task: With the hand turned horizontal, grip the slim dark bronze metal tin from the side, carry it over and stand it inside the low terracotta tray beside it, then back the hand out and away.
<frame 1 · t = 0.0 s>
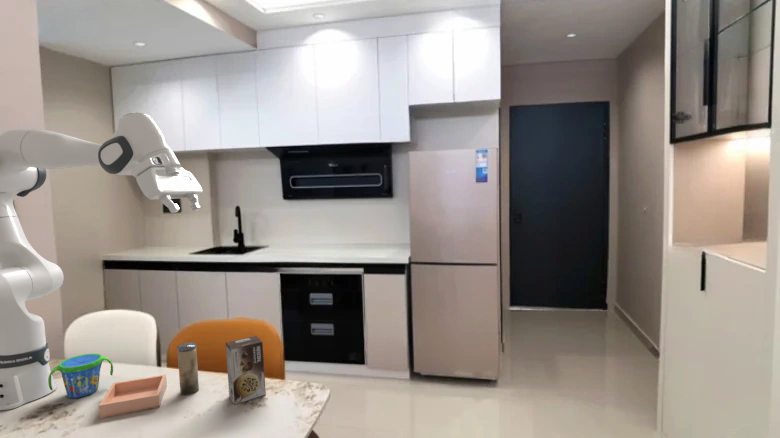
hand: (187, 210, 113), 54 cm above the table, tool tilted 30°, fingers open, 8 cm apart
bronze tin: (189, 391, 124), on the table
coffee box: (247, 396, 121), on the table
snack cup: (83, 393, 125), on the table
terracotta tray: (135, 400, 119), on the table
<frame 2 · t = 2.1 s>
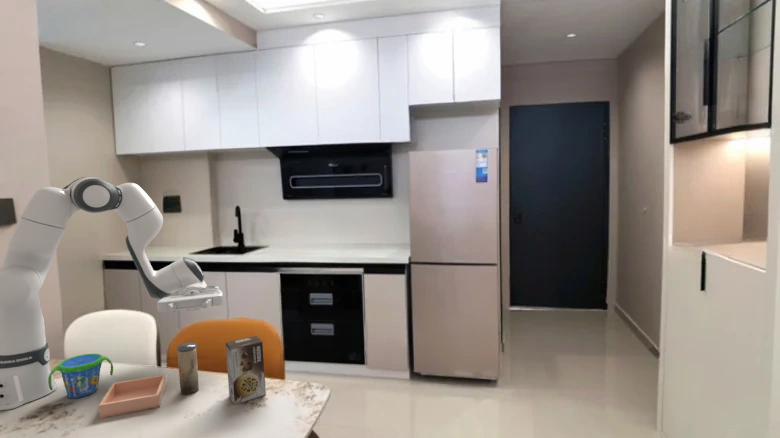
hand: (189, 307, 135), 22 cm above the table, tool horizontal, fingers open, 8 cm apart
nothing on the table moved.
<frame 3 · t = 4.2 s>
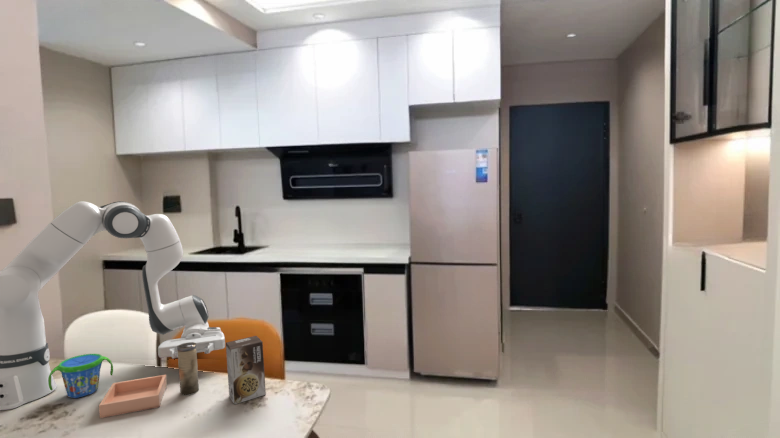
hand: (190, 353, 133), 8 cm above the table, tool horizontal, fingers open, 8 cm apart
nothing on the table moved.
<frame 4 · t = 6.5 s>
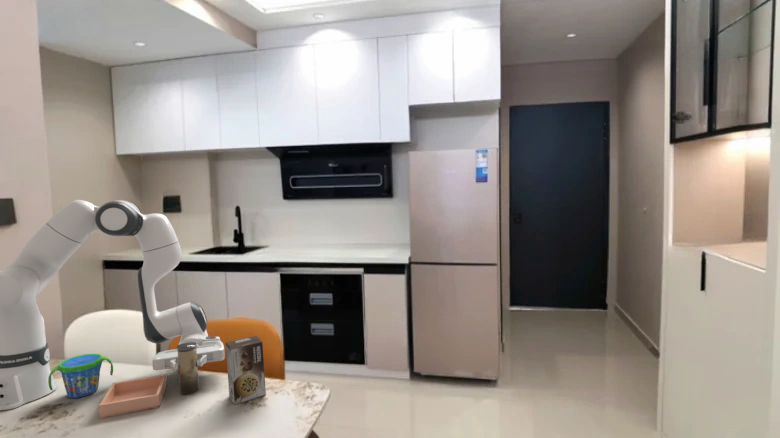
hand: (187, 366, 123), 8 cm above the table, tool horizontal, fingers closed on bronze tin, 5 cm apart
bronze tin: (189, 391, 124), on the table, touching gripper
everything else where it was.
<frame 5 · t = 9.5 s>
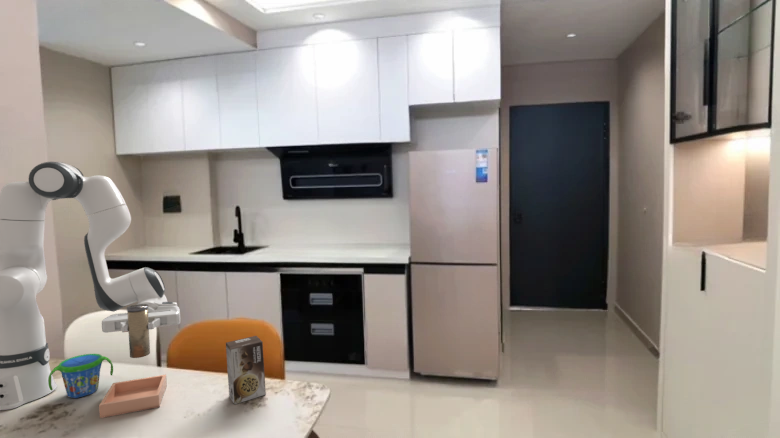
hand: (137, 328, 118), 21 cm above the table, tool horizontal, fingers closed on bronze tin, 5 cm apart
bronze tin: (140, 354, 119), point 13 cm above the table, touching gripper
everything else where it was.
when the fingers open (10 cm above the table, at t = 12.5 s): bronze tin drops 1 cm, resting on terracotta tray.
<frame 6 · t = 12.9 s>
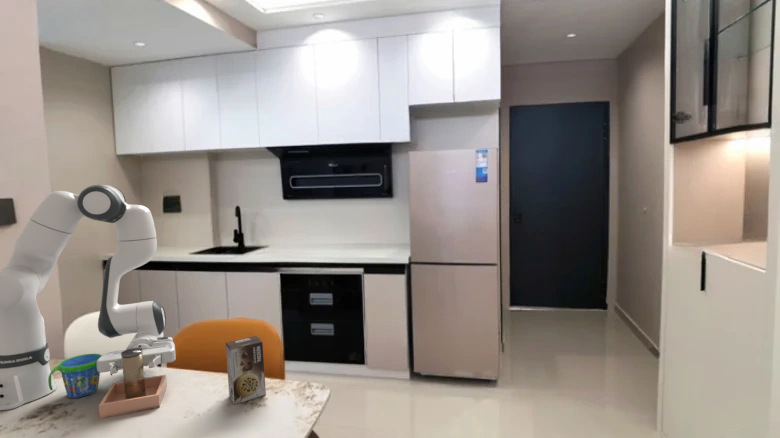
hand: (132, 368, 118), 10 cm above the table, tool horizontal, fingers open, 8 cm apart
bronze tin: (135, 398, 119), point 1 cm above the table, touching terracotta tray
everything else where it was.
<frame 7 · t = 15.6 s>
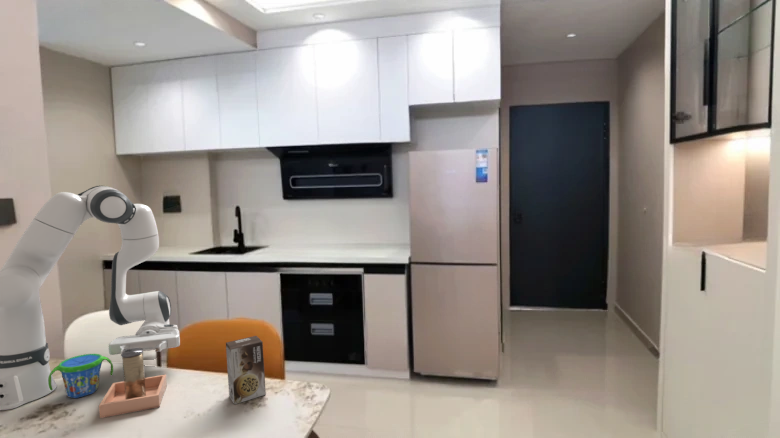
hand: (140, 351, 130), 10 cm above the table, tool horizontal, fingers open, 8 cm apart
nothing on the table moved.
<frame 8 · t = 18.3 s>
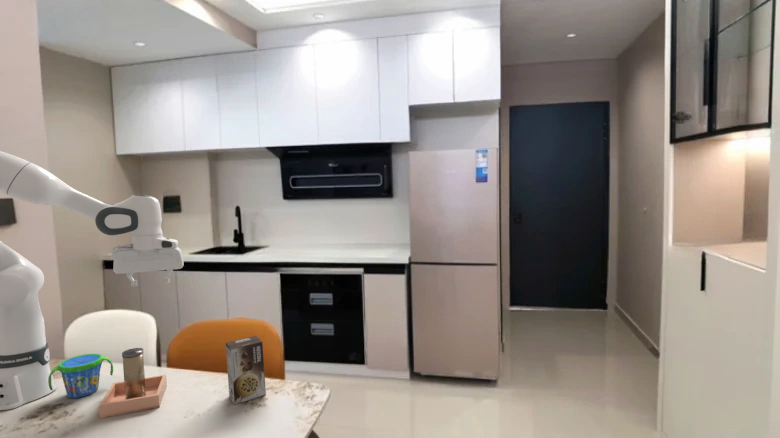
hand: (150, 284, 138), 29 cm above the table, tool pointing down, fingers open, 8 cm apart
nothing on the table moved.
at the end: bronze tin inside the target area on the terracotta tray (0.0 cm from its centre), point 0.5 cm above the terracotta tray's base; bronze tin tilted 0°; the gripper is holding nothing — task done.
